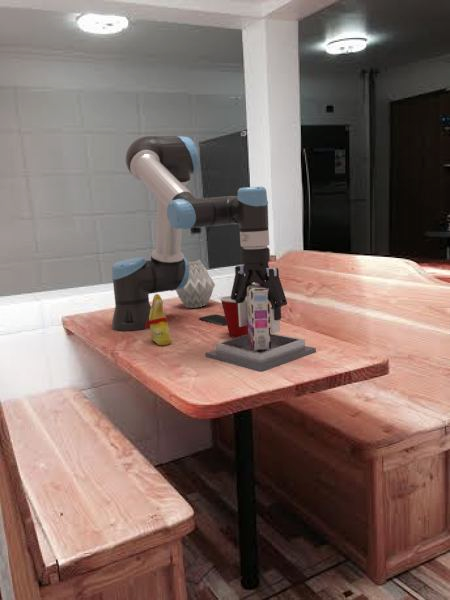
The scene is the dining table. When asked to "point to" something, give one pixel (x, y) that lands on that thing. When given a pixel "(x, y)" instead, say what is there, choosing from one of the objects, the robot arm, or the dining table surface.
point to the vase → (196, 286)
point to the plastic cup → (233, 317)
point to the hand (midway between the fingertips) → (259, 328)
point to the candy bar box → (258, 317)
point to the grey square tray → (260, 352)
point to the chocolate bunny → (158, 322)
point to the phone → (214, 319)
